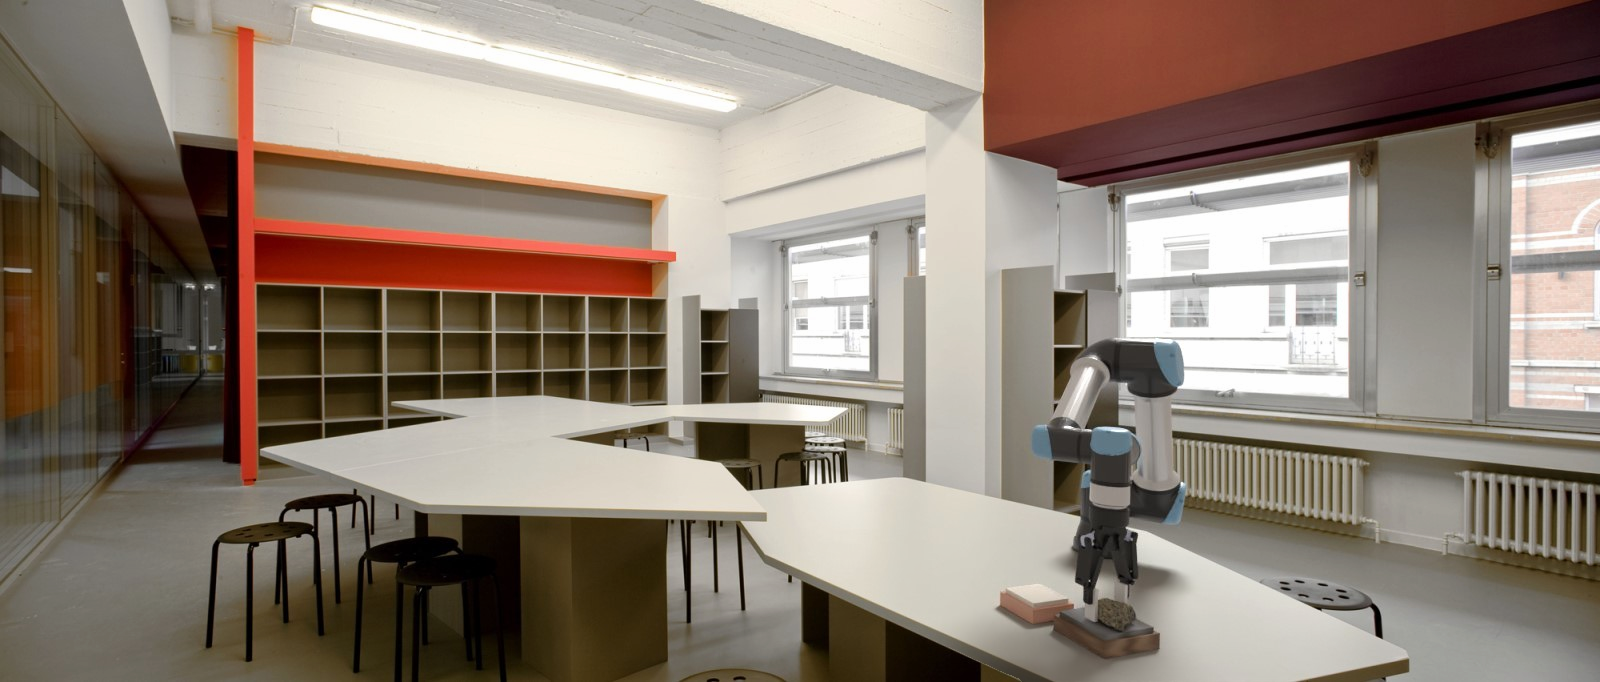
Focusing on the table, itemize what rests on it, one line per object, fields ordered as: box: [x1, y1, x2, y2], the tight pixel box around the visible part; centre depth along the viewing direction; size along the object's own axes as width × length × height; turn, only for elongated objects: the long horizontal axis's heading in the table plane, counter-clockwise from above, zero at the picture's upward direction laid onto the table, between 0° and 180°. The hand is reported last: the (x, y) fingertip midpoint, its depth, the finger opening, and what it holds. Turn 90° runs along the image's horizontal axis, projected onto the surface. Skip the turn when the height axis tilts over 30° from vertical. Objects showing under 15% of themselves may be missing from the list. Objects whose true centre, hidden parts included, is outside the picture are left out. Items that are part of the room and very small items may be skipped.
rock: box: [1098, 597, 1137, 631], centre depth 142 cm, size 7×8×4 cm
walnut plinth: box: [1053, 606, 1161, 660], centre depth 144 cm, size 14×14×4 cm
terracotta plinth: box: [999, 583, 1075, 625], centre depth 158 cm, size 11×11×4 cm
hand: (1105, 616), depth 144 cm, fingers closed on rock, 7 cm apart
